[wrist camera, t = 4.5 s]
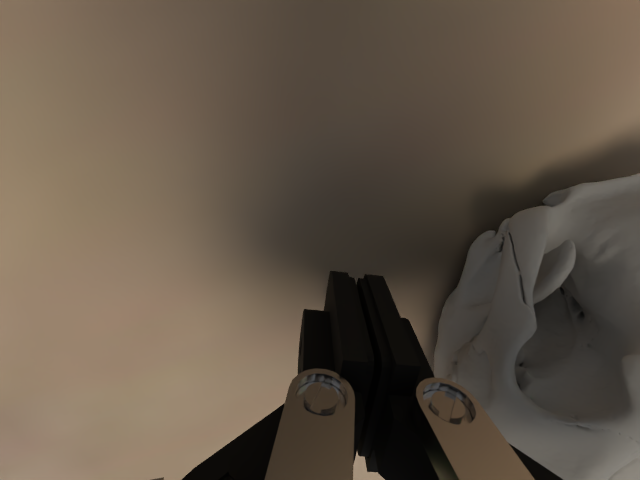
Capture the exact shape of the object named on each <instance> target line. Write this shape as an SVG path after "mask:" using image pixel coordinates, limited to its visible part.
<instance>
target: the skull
mask: <svg viewBox="0 0 640 480" xmlns="http://www.w3.org/2000/svg"><path fill="white" fill-rule="evenodd" d="M543 203H544V204H545V205H547V206H538V207H533V208H529V209H525V210H522V211H519V212H517V213H516V214H515V215H513V216H512V218H507V219H505V220H504V221H503V222H502V223H501V225H500V227H499V230H498V233H497V234H496V233H495V231H486V232H484V233H483V234H481V235H480V236H479V237H478V238H477V239H476V240H475V241H474V242H473V243H472V245H471V247H470V249H469V251H468V254H467V260H466V263H465V266H464V269H463V273H462V276H461V279H460V281H459V284H458V286H457V288H456V289H455V290H454V291H453V292H452V293H451V294H450V296H449V297H448V299H447V300H446V302H445V305H444V307H443V310H442V314H441V317H440V320H439V325H438V340H437V345H436V348H435V351H434V377H435V378H443V379H447V380H450V381H453V382H455V383H457V384H459V385H461V386H462V387H464V388H465V389H466V390H467V391H469V392H470V393H471V394H472V395H473V396H474V397H475V398H476V399H477V401H478V402H479V403H480V405H481V406H482V408H483V409H484V410H485V412H486V413H487V414H488V416H489V417H490V419H491V420H492V421H493V423H494V424H495V425H496V427H497V428H498V430H499V431H500V432H501V434H502V435H503V436H504V438H505V439H506V441H507V442H508V443H509V444H511V445H512V446H514V447H515V448H517V449H518V450H520V451H521V452H523V453H524V454H526V455H527V456H529V457H530V458H532V459H533V460H535V461H536V462H538V463H539V464H541V465H542V466H544V467H545V468H547V469H548V470H550V471H551V472H553V473H554V474H556V475H557V476H559V477H560V478H562V479H563V480H640V173H638V174H635V175H630V176H626V177H621V178H615V179H610V180H605V181H600V182H591V183H581V184H578V185H576V186H573V187H569V188H567V189H564V190H558V191H555V192H552V193H550V194H549V195H548V196H547V197H546V198H545V199H544V200H543ZM534 304H535V305H534ZM533 305H534V306H533Z"/></svg>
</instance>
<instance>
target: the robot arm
mask: <svg viewBox="0 0 640 480" xmlns="http://www.w3.org/2000/svg"><path fill="white" fill-rule="evenodd" d="M357 451H358V455H359V456H365V460H366V467H367V472H378V473H379V474H380V475H381V476H382V477H383V478H384V479H385V480H563V479H562V478H560V477H559V476H557V475H556V474H554V473H553V472H551V471H550V470H548V469H547V468H545V467H544V466H542V465H541V464H539V463H538V462H536V461H535V460H533V459H532V458H530V457H529V456H527V455H526V454H524V453H523V452H521V451H520V450H518V449H517V448H515V447H514V446H512V445H511V444H509V443H508V442H507V441H506V439H505V438H504V436H503V435H502V434H501V432H500V431H499V430H498V428H497V427H496V425H495V424H494V423H493V421H492V420H491V419H490V417H489V416H488V414H487V413H486V412H485V410H484V409H483V408H482V406H481V405H480V403H479V402H478V401H477V399H476V398H475V397H474V396H473V395H472V394H471V393H470V392H469V391H467V390H466V389H465V388H464V387H462V386H461V385H459V384H457V383H455V382H453V381H450V380H447V379H443V378H435V377H434V374H433V372H432V370H431V368H430V366H429V363H428V361H427V359H426V357H425V355H424V352H423V350H422V348H421V346H420V344H419V341H418V339H417V337H416V335H415V333H414V330H413V328H412V326H411V324H410V322H409V320H408V319H406V318H401V317H400V315H399V313H398V310H397V308H396V305H395V303H394V301H393V298H392V296H391V294H390V291H389V289H388V286H387V284H386V282H385V279H384V277H383V276H377V275H367V274H365V276H364V278H363V279H362V278H358V281H357V285H356V283H355V279H354V278H352V277H349V275H348V273H347V272H337V271H330V275H329V280H328V287H327V293H326V300H325V306H324V311H319V310H308V309H304V311H303V317H302V325H301V333H300V343H299V357H298V375H297V376H296V377H295V378H294V379H293V380H292V382H291V384H290V386H289V389H288V393H287V397H286V401H285V403H284V404H283V405H282V406H280V407H279V408H277V409H276V410H275V411H273V412H272V413H271V414H269V415H268V416H266V417H265V418H264V419H262V420H261V421H259V422H258V423H257V424H255V425H254V426H252V427H251V428H250V429H248V430H247V431H245V432H244V433H243V434H241V435H240V436H238V437H237V438H236V439H234V440H233V441H231V442H230V443H229V444H227V445H226V446H224V447H223V448H222V449H220V450H219V451H217V452H216V453H215V454H213V455H212V456H210V457H209V458H208V459H206V460H205V461H203V462H202V463H201V464H199V465H198V466H197V467H195V468H194V469H193V470H192V471H191V472H189V473H188V474H187V475H186V476H185V477H184V478H183V479H182V480H353V464H354V460H355V456H356V452H357ZM152 480H164V477H163V478H158V479H152Z"/></svg>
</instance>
